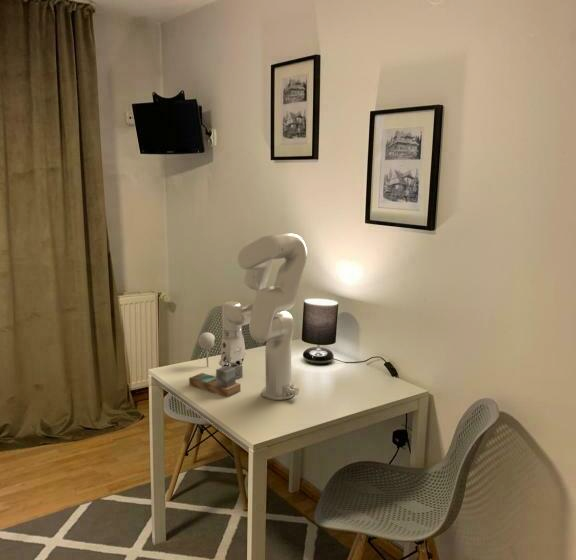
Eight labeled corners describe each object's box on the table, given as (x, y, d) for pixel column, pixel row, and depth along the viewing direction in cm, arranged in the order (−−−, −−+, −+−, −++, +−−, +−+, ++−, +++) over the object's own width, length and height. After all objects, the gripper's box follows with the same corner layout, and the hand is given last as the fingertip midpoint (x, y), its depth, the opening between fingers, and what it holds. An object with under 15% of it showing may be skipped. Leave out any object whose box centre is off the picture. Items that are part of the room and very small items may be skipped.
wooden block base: (240, 391, 212) (240, 368, 210) (228, 397, 206) (227, 374, 205) (202, 380, 224) (201, 358, 222) (189, 385, 218) (188, 363, 216)
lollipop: (214, 369, 235) (213, 335, 232) (197, 369, 235) (196, 335, 232) (217, 363, 242) (216, 330, 239) (200, 363, 242) (199, 330, 239)
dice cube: (233, 380, 223) (232, 368, 222) (224, 377, 226) (224, 365, 225) (242, 377, 226) (242, 365, 226) (234, 374, 230) (234, 362, 229)
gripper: (224, 339, 214) (225, 384, 218) (253, 329, 228) (253, 372, 231) (210, 336, 218) (211, 380, 222) (239, 326, 232) (239, 368, 235)
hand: (233, 375), depth 226 cm, fingers closed on dice cube, 5 cm apart
